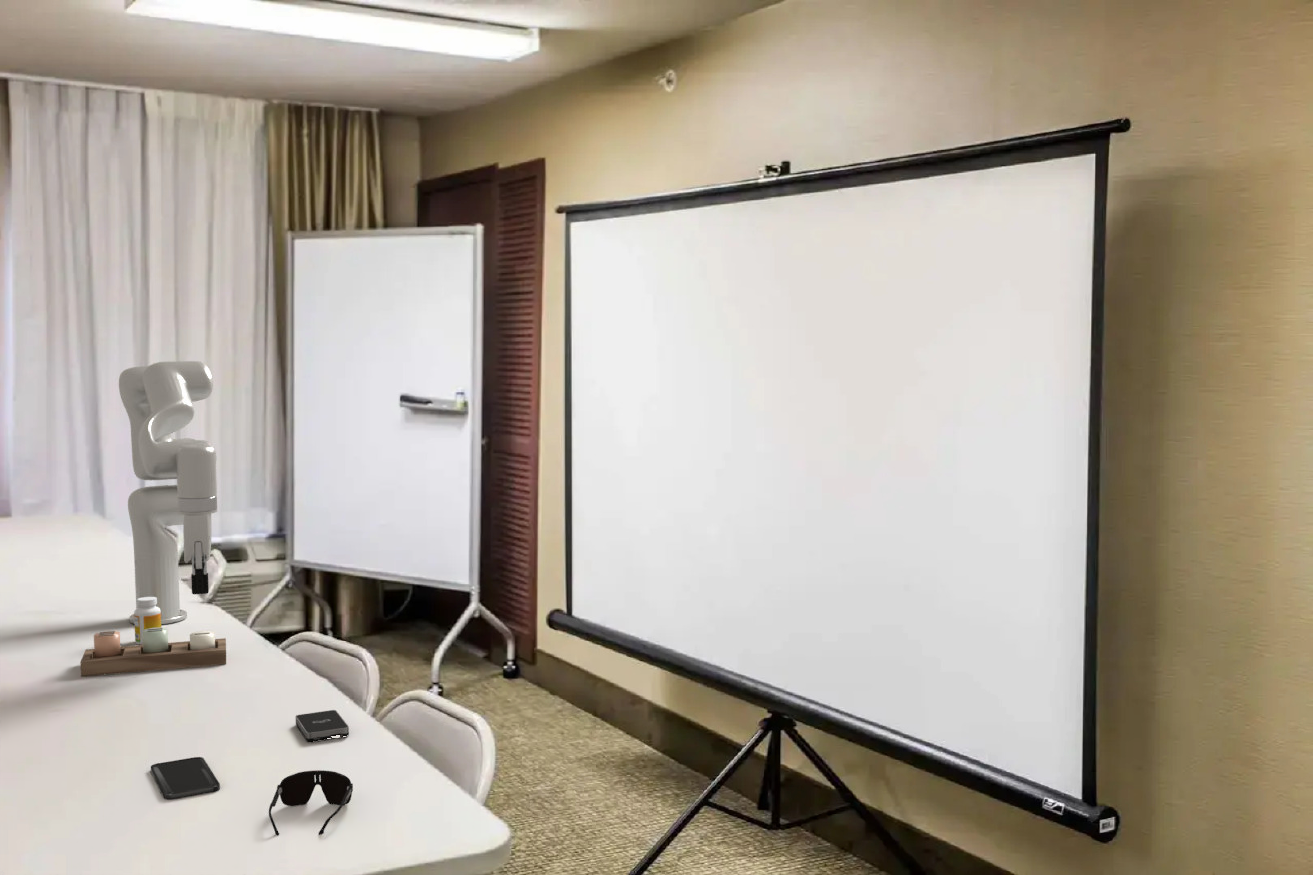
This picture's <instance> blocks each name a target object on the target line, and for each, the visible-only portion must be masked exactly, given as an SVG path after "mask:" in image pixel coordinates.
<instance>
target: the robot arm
mask: <svg viewBox="0 0 1313 875" xmlns="http://www.w3.org/2000/svg"><path fill="white" fill-rule="evenodd" d="M213 387H214V380H213V375H212V372H211V369H210V367H208V366H207V364H206V363H204V362H202V361H198V360H197V361H195V360H194V361H193V360H191V361H190V360H188V361H187V360H185V361H184V360H183V361H181V360H180V361H177V360H176V361H159V362H155V363H152V364H150V365H143V366H140V365H139V366H134V367H129V368H126V369H124V370H123V371H122V372H121V373H120V375H119V377H118V390H119V391H118V392H119V395H120V398H121V401H122V404H123V407H124V409H125V411H126V414H127V416H128V420H129V423H130V424H129V425H130V438H131V439H130V441H131V444H130V445H131V456H132V457H131V458H132V467H133V472H134V475H135V476H136V478H137V479H139V480H142V481H164V480H165V481H166V480H167V481H168V480H177V481H176V482H177V483H176V484H171V485H168V484H167V485H166V484H164V485H150V486H144V487H140V488H137V489H135V490H133V491H132V493H130V495H129V497H128V498H127V510H128V515H129V520H130V524H131V525H130V526H131V531H132V541H133V542H132V543H133V556H134V557H133V559H134V560H133V561H134V582H135V585H134V586H135V588H134V589H135V606H136V607H135V610H136V609H137V608H139V606H137V599H138V598H142V597H156V598H157V604H156V607H159V608H160V610H161V625H166V624H173V623H177V622H181V621H183V620H185V619H187V617H188V612H187V611H186V610H184V609H181V606H180V601H181V600H180V574H179V552H178V549H179V548H178V544H177V541H176V540H175V538H174V537H173V536H172V535H171V534H170V533H169V532H168V531H167V530H166V529H165V528H166V527H172V526H181V525H182V526H183V533H182V534H183V557H184V559H183V560H184V563H185V564H188V563H189V562H191V565H192V566H191V567H192V569H191V570H192V573H191V577H190V578H191V579H190V580H191V594H192V595H205V594H207V595H208V594H209V572H207V571H208V569H207V568H208V567H207V563H208V562H209V561H210V558H211V551H212V514H214V513H217V512H218V490H217V489H218V488H217V451H216V449H215V447H214V446H213V445H212V444H211V443H210V442H209V441H207V440H203V439H195V438H189V437H188V438H186V437H185V438H183V437H182V438H172V436H171V434H173V433H175V432H177V431H179V430H181V429H184V428H185V427H186V426H188V425H189V424H190V423H191V422H192V420H193V419H194V416H195V407H194V405H193V404H194V403H193V402H198V401H203V400H206V399H208V398H210V396H211V395H212V392H213V390H214V388H213ZM129 623H130V624H134V625H135V622H134V613H133V614H131V615H130V616H129Z"/></svg>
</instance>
